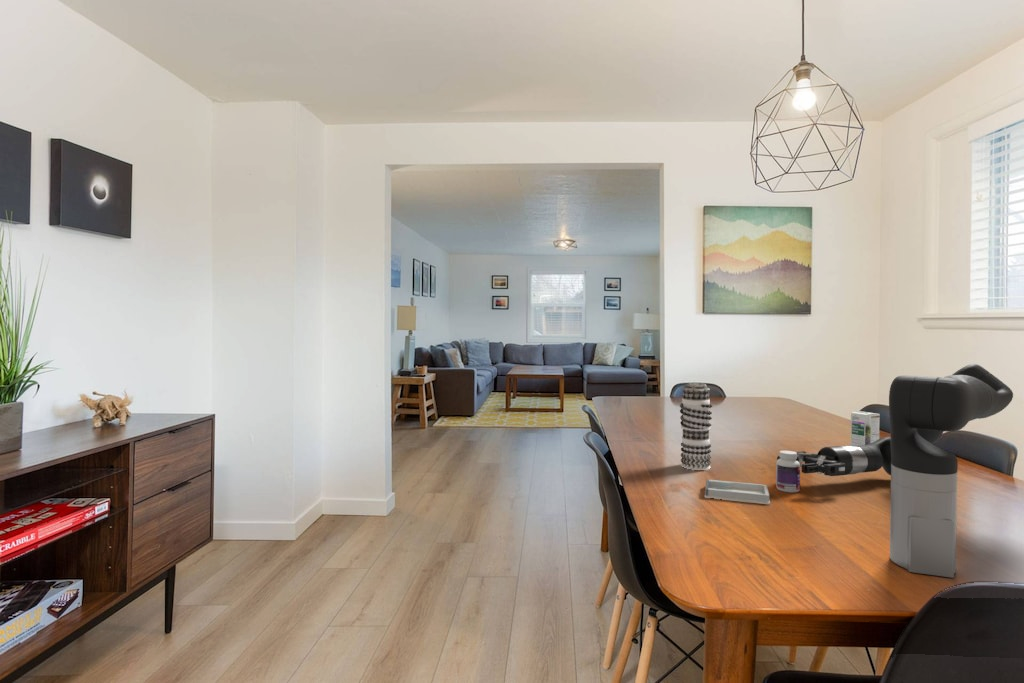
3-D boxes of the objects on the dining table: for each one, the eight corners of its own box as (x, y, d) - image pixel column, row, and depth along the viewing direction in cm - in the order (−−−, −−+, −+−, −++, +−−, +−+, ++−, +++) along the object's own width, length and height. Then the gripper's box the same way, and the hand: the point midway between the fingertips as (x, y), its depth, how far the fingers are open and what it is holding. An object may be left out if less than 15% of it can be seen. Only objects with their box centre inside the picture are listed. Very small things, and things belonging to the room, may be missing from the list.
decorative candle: (707, 463, 163) (707, 381, 162) (716, 471, 153) (716, 385, 153) (676, 462, 163) (676, 381, 163) (683, 470, 154) (683, 385, 153)
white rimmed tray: (766, 492, 134) (766, 484, 134) (770, 504, 125) (770, 496, 125) (705, 486, 140) (705, 478, 139) (704, 497, 130) (704, 489, 130)
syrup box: (849, 457, 168) (849, 411, 167) (861, 455, 170) (861, 410, 170) (868, 461, 163) (868, 414, 162) (879, 459, 165) (880, 413, 165)
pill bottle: (802, 493, 133) (803, 455, 132) (779, 492, 134) (779, 454, 134) (795, 487, 138) (796, 450, 138) (773, 486, 139) (773, 449, 139)
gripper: (820, 440, 146) (770, 444, 143) (866, 452, 133) (811, 456, 129) (820, 467, 147) (770, 471, 143) (865, 482, 133) (811, 487, 129)
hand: (790, 464), depth 136 cm, fingers open, 8 cm apart
